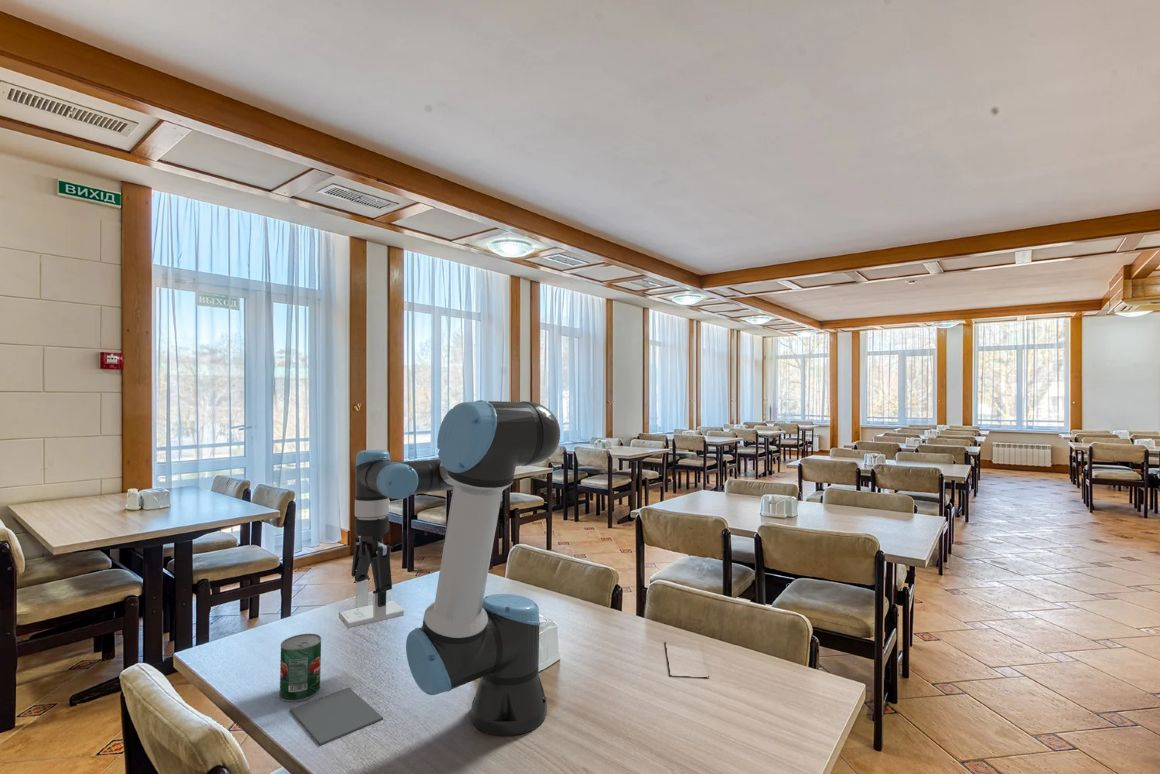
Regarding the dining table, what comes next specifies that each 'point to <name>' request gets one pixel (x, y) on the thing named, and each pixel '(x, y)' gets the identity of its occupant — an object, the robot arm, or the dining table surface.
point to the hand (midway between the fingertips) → (370, 614)
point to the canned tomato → (300, 667)
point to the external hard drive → (368, 614)
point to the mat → (335, 715)
